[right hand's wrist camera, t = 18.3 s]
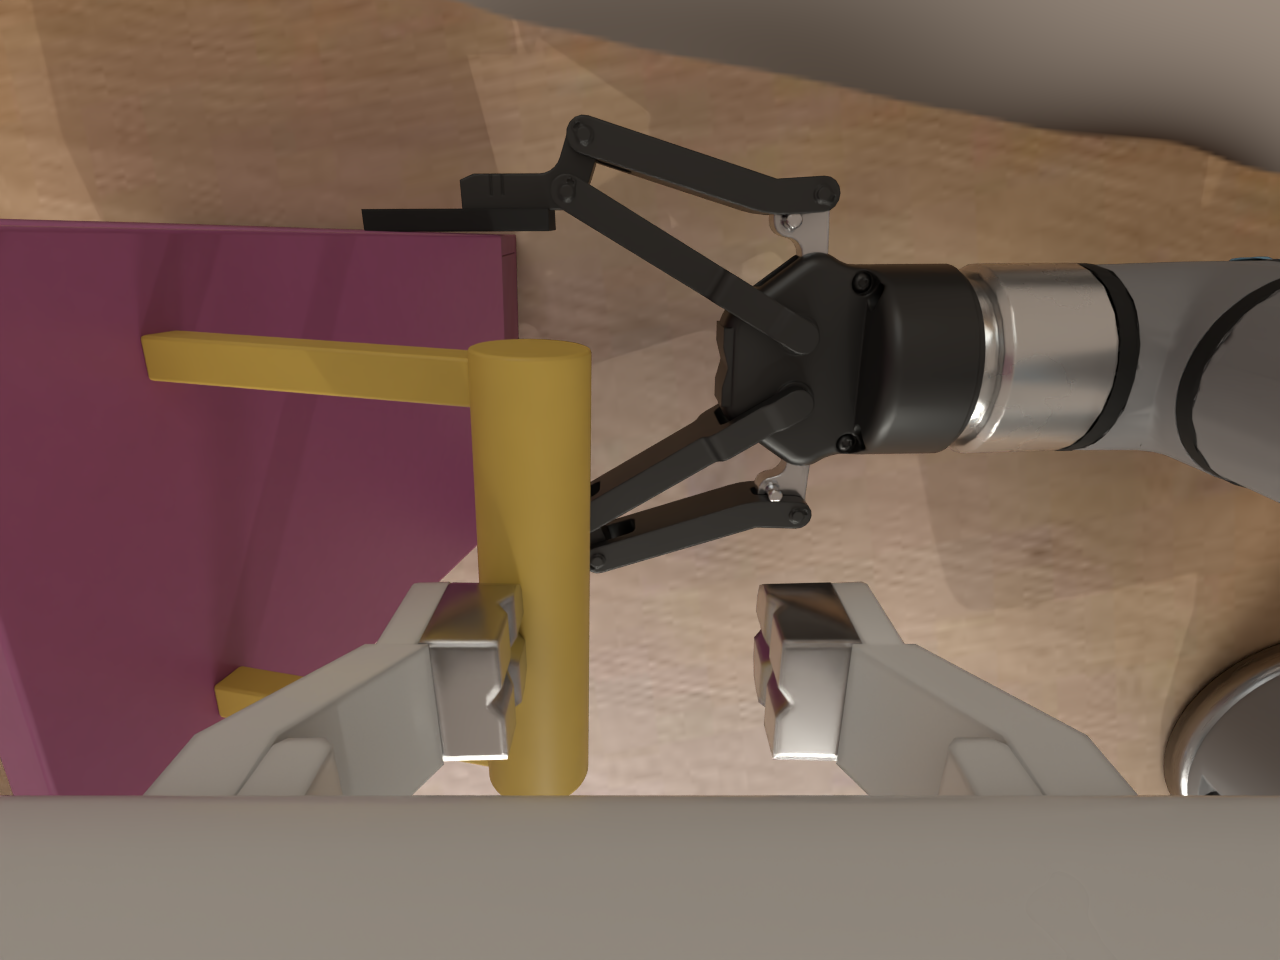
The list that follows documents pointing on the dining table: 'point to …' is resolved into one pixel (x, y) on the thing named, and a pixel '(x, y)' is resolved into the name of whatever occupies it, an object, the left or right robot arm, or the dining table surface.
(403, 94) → the dining table surface
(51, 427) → the lid
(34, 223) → the chest
